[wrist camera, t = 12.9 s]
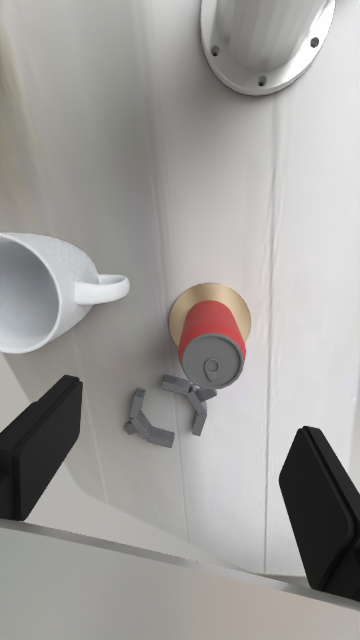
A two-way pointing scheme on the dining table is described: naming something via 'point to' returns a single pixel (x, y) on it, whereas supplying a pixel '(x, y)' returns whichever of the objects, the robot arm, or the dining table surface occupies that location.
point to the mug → (47, 289)
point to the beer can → (211, 346)
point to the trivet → (203, 294)
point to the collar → (163, 436)
